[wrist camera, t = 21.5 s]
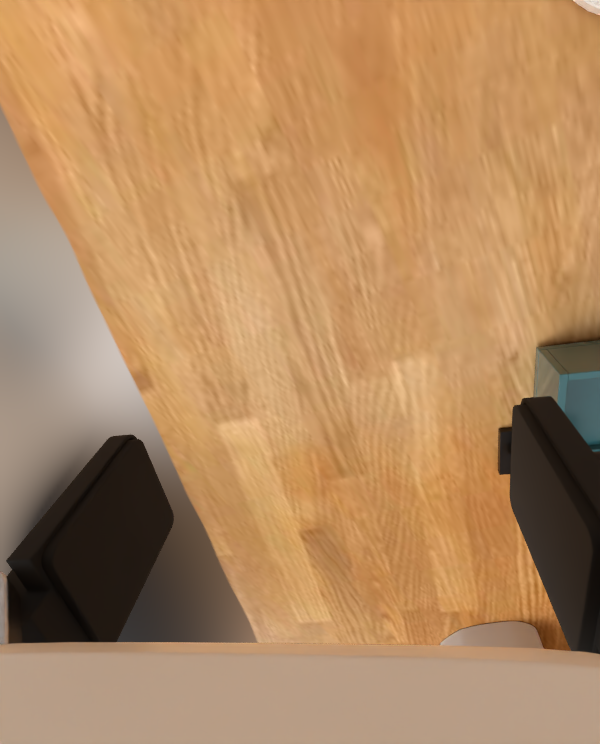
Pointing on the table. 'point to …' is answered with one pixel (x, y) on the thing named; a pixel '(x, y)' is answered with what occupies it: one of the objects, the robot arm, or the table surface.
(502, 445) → the cradle
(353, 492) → the table surface
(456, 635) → the lumpy-topped squat cylinder
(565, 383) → the teal drawer box
